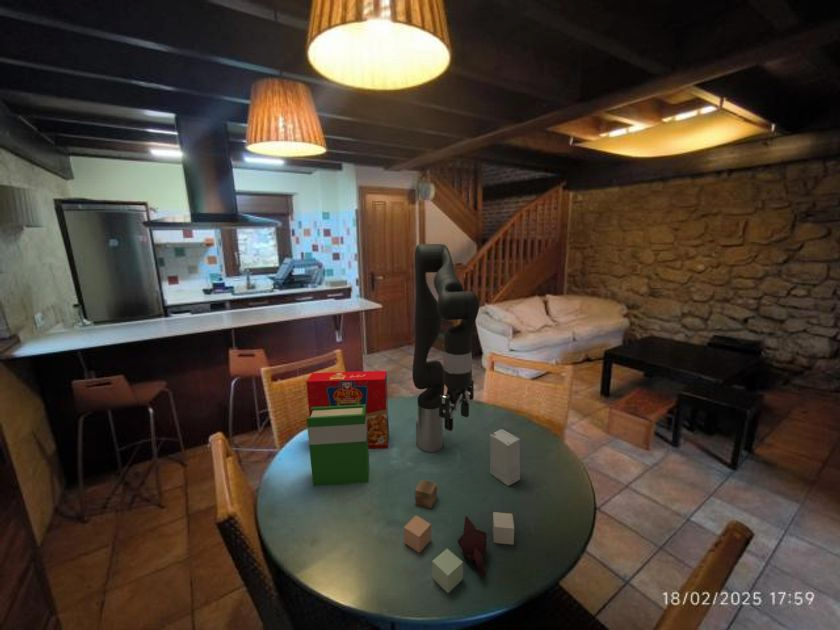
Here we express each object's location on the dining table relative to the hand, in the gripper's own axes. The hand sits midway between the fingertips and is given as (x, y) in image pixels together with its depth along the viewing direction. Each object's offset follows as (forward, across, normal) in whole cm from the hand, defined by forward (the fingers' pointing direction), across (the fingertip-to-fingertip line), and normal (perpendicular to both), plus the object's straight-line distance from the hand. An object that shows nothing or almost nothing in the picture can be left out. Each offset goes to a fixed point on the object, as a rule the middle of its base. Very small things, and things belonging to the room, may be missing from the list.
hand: (457, 422), depth 98 cm
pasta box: (+29, -6, -50) cm, 58 cm away
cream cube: (+28, 0, +15) cm, 32 cm away
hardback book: (+29, +9, -39) cm, 49 cm away
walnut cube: (+28, +2, -9) cm, 30 cm away
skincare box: (+28, -22, +5) cm, 36 cm away
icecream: (+28, +10, +11) cm, 32 cm away
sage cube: (+28, +19, +9) cm, 35 cm away
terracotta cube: (+28, +15, -3) cm, 32 cm away
